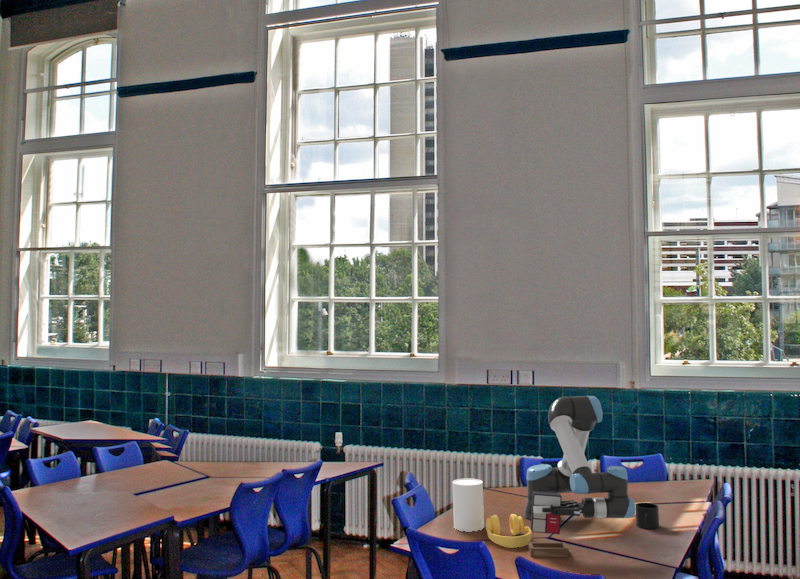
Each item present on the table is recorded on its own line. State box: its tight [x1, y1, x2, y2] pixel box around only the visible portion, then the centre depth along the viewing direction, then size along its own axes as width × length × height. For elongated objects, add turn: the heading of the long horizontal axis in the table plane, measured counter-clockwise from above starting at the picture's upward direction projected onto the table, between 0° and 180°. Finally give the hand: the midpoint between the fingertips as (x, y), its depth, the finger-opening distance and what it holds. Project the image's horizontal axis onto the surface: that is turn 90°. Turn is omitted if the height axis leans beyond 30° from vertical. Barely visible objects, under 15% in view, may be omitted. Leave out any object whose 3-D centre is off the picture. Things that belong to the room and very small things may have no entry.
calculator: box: [530, 491, 563, 535], centre depth 254 cm, size 11×4×15 cm, turn 85°
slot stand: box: [527, 541, 570, 558], centre depth 253 cm, size 8×14×3 cm, turn 86°
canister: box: [452, 477, 485, 533], centre depth 290 cm, size 14×14×20 cm
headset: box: [485, 513, 532, 549], centre depth 271 cm, size 18×21×9 cm
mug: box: [635, 502, 660, 530], centre depth 284 cm, size 9×12×9 cm
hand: (532, 507), depth 255 cm, fingers closed on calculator, 4 cm apart
